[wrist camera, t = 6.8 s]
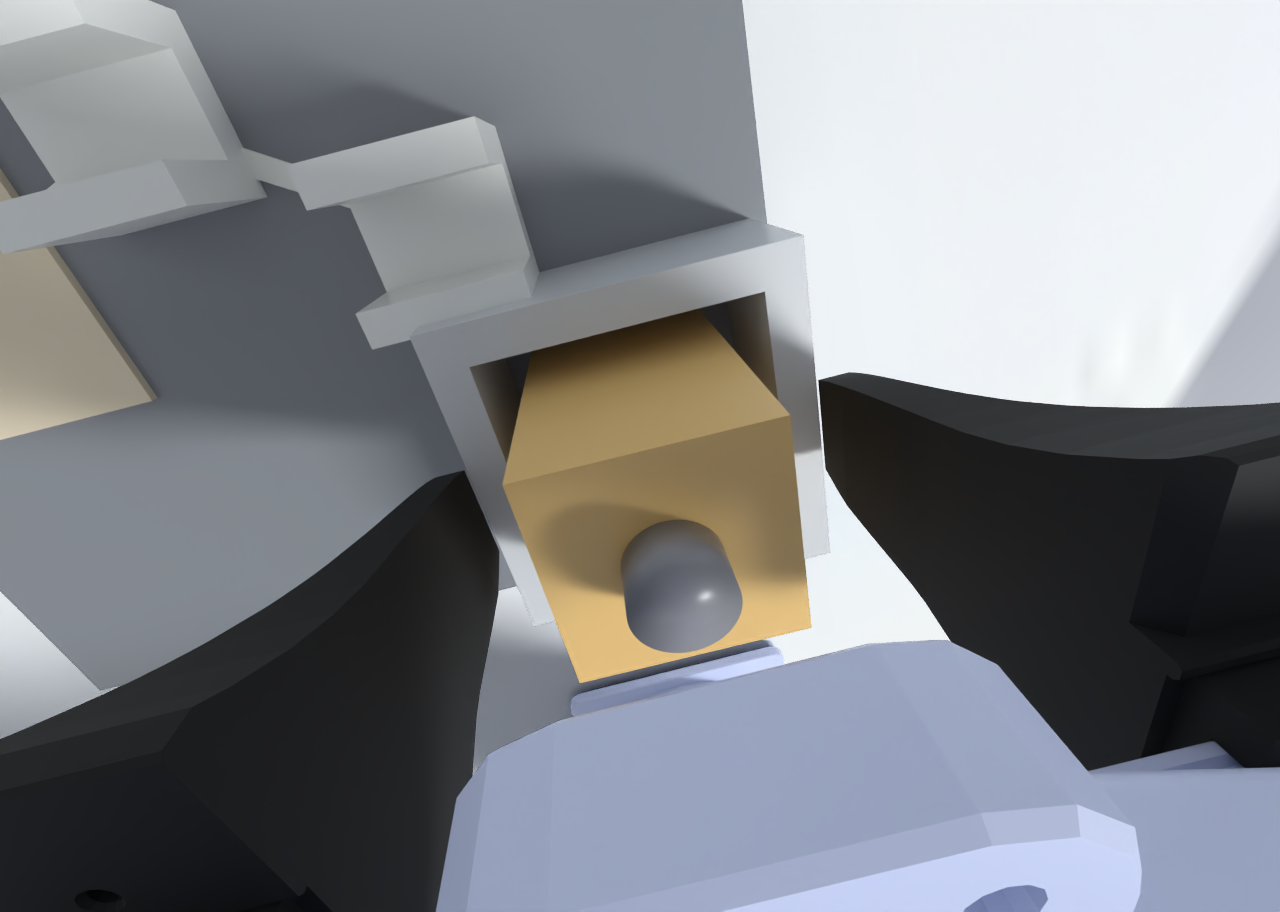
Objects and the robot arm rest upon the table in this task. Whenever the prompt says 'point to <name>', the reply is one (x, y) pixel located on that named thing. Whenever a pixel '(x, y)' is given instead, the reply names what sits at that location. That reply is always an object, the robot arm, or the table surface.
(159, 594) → the cable board
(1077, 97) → the table surface
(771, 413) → the connector plug
